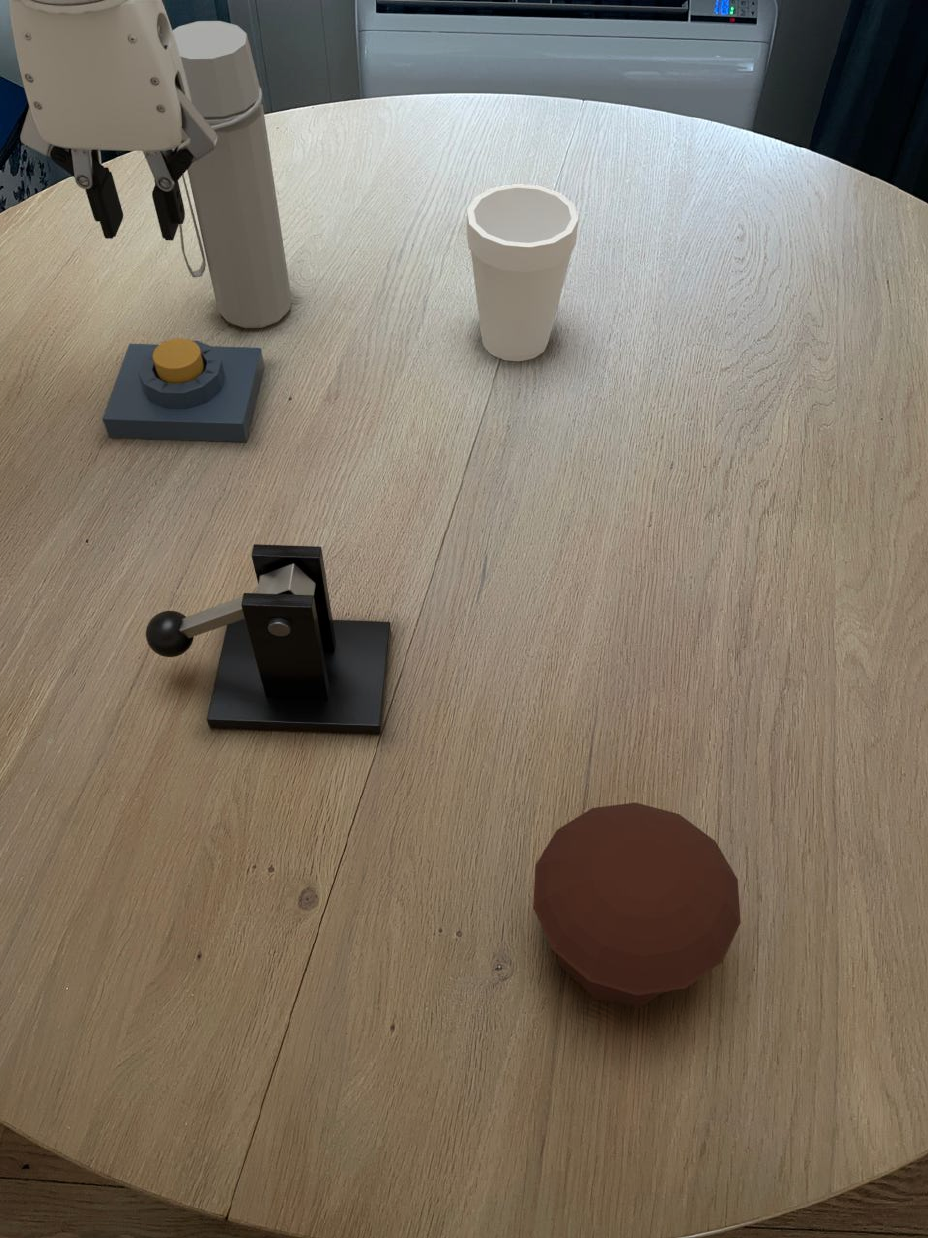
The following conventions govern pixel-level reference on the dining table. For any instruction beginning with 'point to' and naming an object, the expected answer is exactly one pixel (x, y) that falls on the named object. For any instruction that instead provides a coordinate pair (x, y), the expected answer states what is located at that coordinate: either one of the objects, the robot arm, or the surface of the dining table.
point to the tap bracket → (299, 659)
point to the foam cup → (519, 265)
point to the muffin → (635, 902)
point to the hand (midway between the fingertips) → (143, 226)
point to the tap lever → (219, 613)
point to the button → (178, 361)
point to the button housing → (186, 397)
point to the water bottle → (234, 178)
